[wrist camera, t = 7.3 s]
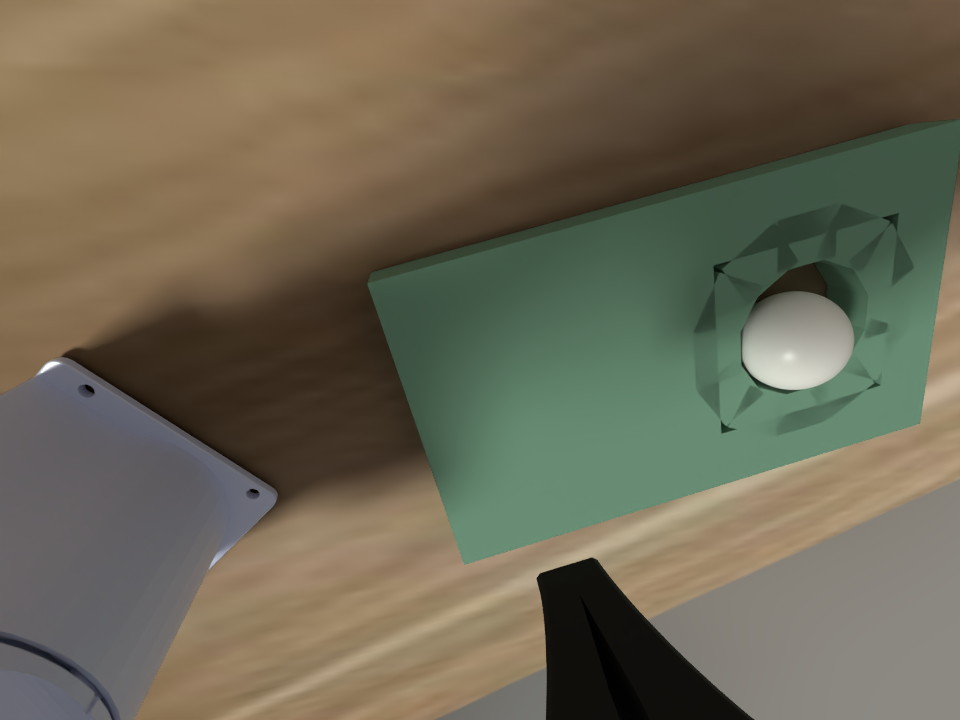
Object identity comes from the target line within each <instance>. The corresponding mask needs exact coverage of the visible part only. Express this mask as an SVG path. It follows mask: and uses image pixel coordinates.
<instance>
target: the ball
mask: <svg viewBox="0 0 960 720" xmlns="http://www.w3.org/2000/svg"><path fill="white" fill-rule="evenodd" d="M853 347H854V332H853V328H852V325H851V322H850V320H849V318H848V317H847V315H846V314H845V313H844V311H843V310H842V309H841V308H840V307H839V306H838V305H837V304H835V303H834V302H832V301H831V300H829V299H827V298H825V297H823V296H821V295H818V294H814V293H810V292H804V291H790V292H782V293H778V294H775V295H772V296H769V297H767V298H765V299H763V300H761V301H760V302H758V303H757V304H755V305H754V306H753V308H752V310H751V312H750V314H749V316H748V318H747V320H746V322H745V324H744V326H743V328H742V331H741V363H742V365H743V366H744V367H745V369H746V370H747V371H748V372H749V373H750V374H751V375H752V376H753V377H755V378H756V379H758V380H759V381H761V382H763V383H765V384H767V385H769V386H772V387H775V388H780V389H786V390H801V389H808V388H812V387H815V386H818V385H821V384H823V383H825V382H827V381H829V380H830V379H832V378H833V377H835V376H836V375H837V374H838V373H839V372H840V371H841V370H842V369H843V368H844V367H845V365H846V364H847V362H848V361H849V359H850V357H851V354H852V351H853Z"/></svg>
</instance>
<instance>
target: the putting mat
mask: <svg viewBox="0 0 960 720" xmlns="http://www.w3.org/2000/svg"><path fill="white" fill-rule="evenodd" d="M959 155H960V119H954V120H944V121H934V122H925V123H915V124H908V125H904V126H901V127H897V128H893V129H890V130H886V131H883V132H879V133H875V134H872V135H868V136H864V137H861V138H857V139H854V140H850V141H846V142H843V143H839V144H835V145H832V146H828V147H824V148H821V149H817V150H814V151H810V152H806V153H803V154H799V155H795V156H792V157H788V158H784V159H781V160H777V161H774V162H770V163H766V164H763V165H759V166H755V167H752V168H748V169H745V170H741V171H737V172H734V173H730V174H726V175H723V176H719V177H715V178H712V179H708V180H705V181H701V182H697V183H694V184H690V185H686V186H683V187H679V188H676V189H672V190H668V191H665V192H661V193H657V194H654V195H650V196H646V197H643V198H639V199H636V200H632V201H628V202H625V203H621V204H617V205H614V206H610V207H607V208H603V209H599V210H596V211H592V212H588V213H585V214H581V215H577V216H574V217H570V218H567V219H563V220H559V221H556V222H552V223H548V224H545V225H541V226H537V227H534V228H530V229H527V230H523V231H519V232H516V233H512V234H508V235H505V236H501V237H498V238H494V239H490V240H487V241H483V242H479V243H476V244H472V245H468V246H465V247H461V248H458V249H454V250H450V251H447V252H443V253H439V254H436V255H432V256H429V257H425V258H421V259H418V260H414V261H410V262H407V263H403V264H399V265H396V266H392V267H389V268H385V269H381V270H378V271H374V272H371V274H370V277H369V279H368V282H367V285H368V288H369V290H370V293H371V296H372V299H373V302H374V305H375V308H376V311H377V314H378V316H379V319H380V322H381V325H382V328H383V331H384V334H385V337H386V340H387V343H388V345H389V348H390V351H391V354H392V357H393V360H394V363H395V366H396V369H397V371H398V374H399V377H400V380H401V383H402V386H403V389H404V392H405V395H406V398H407V400H408V403H409V406H410V409H411V412H412V415H413V418H414V421H415V424H416V426H417V429H418V432H419V435H420V438H421V441H422V444H423V447H424V450H425V453H426V455H427V458H428V461H429V464H430V467H431V470H432V473H433V476H434V479H435V481H436V484H437V487H438V490H439V493H440V496H441V499H442V502H443V505H444V508H445V510H446V513H447V516H448V519H449V522H450V525H451V528H452V531H453V534H454V536H455V539H456V542H457V545H458V548H459V551H460V554H461V557H462V560H463V563H464V565H465V564H468V563H472V562H475V561H478V560H481V559H484V558H488V557H491V556H494V555H497V554H501V553H504V552H507V551H510V550H513V549H517V548H520V547H523V546H526V545H530V544H533V543H536V542H539V541H543V540H546V539H549V538H552V537H555V536H559V535H562V534H565V533H568V532H572V531H575V530H578V529H581V528H584V527H588V526H591V525H594V524H597V523H601V522H604V521H607V520H610V519H613V518H617V517H620V516H623V515H626V514H630V513H633V512H636V511H639V510H643V509H646V508H649V507H652V506H655V505H659V504H662V503H665V502H668V501H672V500H675V499H678V498H681V497H684V496H688V495H691V494H694V493H697V492H701V491H704V490H707V489H710V488H714V487H717V486H720V485H723V484H726V483H730V482H733V481H736V480H739V479H743V478H746V477H749V476H752V475H755V474H759V473H762V472H765V471H768V470H772V469H775V468H778V467H781V466H784V465H788V464H791V463H794V462H797V461H801V460H804V459H807V458H810V457H814V456H817V455H820V454H823V453H826V452H830V451H833V450H836V449H839V448H843V447H846V446H849V445H852V444H855V443H859V442H862V441H865V440H868V439H872V438H875V437H878V436H881V435H885V434H888V433H891V432H894V431H897V430H901V429H904V428H907V427H910V426H914V425H917V424H920V420H921V413H922V406H923V399H924V393H925V386H926V379H927V372H928V365H929V359H930V352H931V345H932V338H933V332H934V325H935V318H936V311H937V304H938V298H939V291H940V284H941V277H942V271H943V264H944V257H945V250H946V244H947V237H948V230H949V223H950V216H951V210H952V203H953V196H954V189H955V183H956V176H957V169H958V162H959ZM811 263H814V264H815V266H816V267H817V269H818V271H819V272H820V274H821V276H822V277H823V279H824V281H825V282H826V284H827V294H826V298H827V299H829V300H831V301H832V302H834V303H835V304H837V305H838V306H839V307H840V308H841V309H842V310H843V311H844V313H845V314H846V315H847V317H848V318H849V320H850V322H851V325H852V328H853V332H854V347H853V351H852V354H851V357H850V359H849V361H848V362H847V364H846V365H845V367H844V368H843V369H842V370H841V371H840V372H839V373H838V374H837V375H836V376H835V377H833V378H832V379H830V380H829V381H827V382H825V383H823V384H821V385H818V386H815V387H812V388H808V389H801V390H786V389H780V388H775V387H772V386H769V385H767V384H765V383H763V382H761V381H759V380H758V379H756V378H755V377H753V376H752V375H748V374H747V372H746V371H745V370H744V368H743V367H742V366H741V331H742V328H743V326H744V324H745V322H746V320H747V318H748V316H749V314H750V312H751V310H752V308H753V306H754V304H755V301H756V299H757V297H758V296H759V295H761V294H762V293H763V292H764V291H765V290H766V289H767V288H769V287H770V286H771V285H772V284H773V283H774V282H775V281H777V280H778V279H779V278H780V277H781V276H782V275H783V274H784V273H786V272H787V271H788V270H790V269H793V268H797V267H800V266H804V265H807V264H811Z"/></svg>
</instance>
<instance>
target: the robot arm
mask: <svg viewBox="0 0 960 720" xmlns="http://www.w3.org/2000/svg"><path fill="white" fill-rule="evenodd" d="M85 384H87V385H89V386H91V387H92V388H93V389H94V391H95V393H91V392H89V391H88V390H87V389H86V388H85ZM249 489H256V490H258V492H259V493H252V492H251V491H250V490H249ZM277 497H278V494H277V492H276V490H275V489H274V488H273V487H271V486H269V485H268V484H266V483H265V482H263V481H262V480H260V479H258V478H257V477H255V476H254V475H252V474H251V473H249V472H247V471H246V470H244V469H243V468H241V467H240V466H238V465H236V464H235V463H233V462H232V461H230V460H229V459H227V458H225V457H224V456H222V455H221V454H219V453H218V452H216V451H214V450H213V449H211V448H210V447H208V446H207V445H205V444H203V443H202V442H200V441H199V440H197V439H196V438H194V437H192V436H191V435H189V434H188V433H186V432H185V431H183V430H181V429H180V428H178V427H177V426H175V425H174V424H172V423H170V422H169V421H167V420H166V419H164V418H163V417H161V416H159V415H158V414H156V413H155V412H153V411H152V410H150V409H148V408H147V407H145V406H144V405H142V404H141V403H139V402H137V401H136V400H134V399H133V398H131V397H130V396H128V395H126V394H125V393H123V392H122V391H120V390H119V389H117V388H115V387H114V386H112V385H111V384H109V383H108V382H106V381H104V380H103V379H101V378H100V377H98V376H97V375H95V374H93V373H92V372H90V371H89V370H87V369H86V368H84V367H82V366H81V365H79V364H78V363H76V362H75V361H73V360H71V359H68V358H64V357H59V358H55V359H53V360H51V361H49V362H48V363H46V364H45V365H44V366H43V367H42V369H41V370H40V371H39V372H38V373H37V375H36V376H35V377H33V378H31V379H29V380H28V381H26V382H24V383H22V384H20V385H18V386H17V387H15V388H13V389H11V390H9V391H7V392H5V393H4V394H2V395H0V720H134V719H135V717H136V715H137V712H138V710H139V708H140V706H141V704H142V702H143V700H144V698H145V696H146V694H147V692H148V690H149V688H150V686H151V684H152V682H153V680H154V678H155V676H156V674H157V672H158V670H159V668H160V666H161V664H162V662H163V660H164V658H165V656H166V654H167V652H168V650H169V648H170V646H171V644H172V642H173V640H174V638H175V636H176V634H177V632H178V630H179V628H180V626H181V624H182V622H183V620H184V618H185V616H186V614H187V612H188V610H189V607H190V605H191V603H192V601H193V599H194V597H195V595H196V593H197V591H198V589H199V587H200V585H201V583H202V581H203V579H204V577H205V575H206V573H207V571H208V570H209V569H210V568H211V567H212V566H213V565H214V564H215V563H216V562H217V561H218V560H219V559H220V558H221V557H222V556H223V555H224V554H225V553H226V552H227V551H228V550H229V549H230V548H231V547H232V546H233V545H234V544H235V543H236V542H237V541H238V540H239V539H241V538H242V537H243V536H244V535H245V534H246V533H247V532H248V531H249V530H250V529H251V528H252V527H253V526H254V525H255V524H256V523H257V522H258V521H259V520H260V519H261V518H262V517H263V516H264V515H265V514H266V513H267V512H268V511H269V510H270V509H271V508H272V507H273V506H274V504H275V503H276V500H277ZM536 579H537V582H538V586H539V590H540V594H541V600H542V606H543V614H544V624H545V636H546V663H547V699H546V700H547V701H546V720H754V719H753V718H751V717H750V716H749V715H748V714H747V713H745V712H744V711H743V710H742V709H741V708H739V707H738V706H737V705H736V704H735V703H734V702H732V701H731V700H730V699H729V698H728V697H727V696H725V695H724V694H723V693H722V692H721V691H720V690H718V688H717V687H715V686H714V685H713V684H712V683H711V682H710V681H709V680H708V679H707V678H705V677H704V676H703V675H702V674H701V673H700V672H699V671H698V670H697V669H696V668H695V667H694V666H693V665H692V664H690V663H689V662H688V661H687V660H686V659H685V658H684V657H683V656H682V655H681V654H680V653H679V652H678V651H677V650H676V649H675V648H674V647H673V646H672V645H671V644H670V643H669V642H668V641H667V640H666V639H665V638H664V637H663V636H662V635H661V634H660V633H659V632H658V631H657V630H656V629H655V628H654V627H653V625H651V623H650V622H649V621H648V620H647V619H646V618H645V617H644V616H643V615H642V614H641V613H640V612H639V611H638V610H637V608H636V607H635V606H634V605H633V604H632V603H631V602H630V600H629V599H628V598H627V597H626V596H625V595H624V594H623V592H622V591H621V590H620V589H619V588H618V586H617V585H616V584H615V583H614V582H613V580H612V579H611V578H610V577H609V575H608V574H607V573H606V571H605V570H604V569H603V567H602V566H601V565H600V563H599V562H598V560H596V559H594V558H589V559H586V560H582V561H579V562H576V563H572V564H569V565H566V566H563V567H559V568H556V569H553V570H549V571H546V572H543V573H540V574H539V576H538V577H537V578H536Z"/></svg>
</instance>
